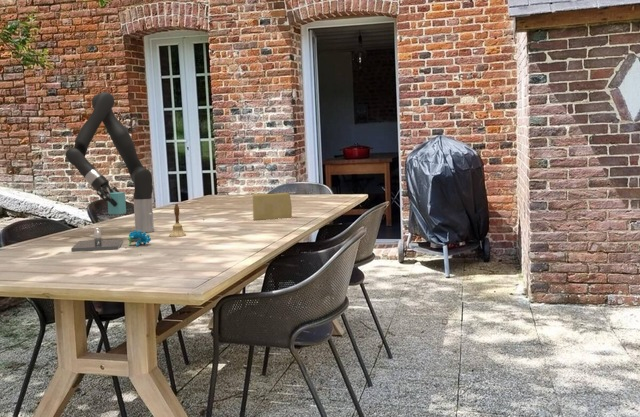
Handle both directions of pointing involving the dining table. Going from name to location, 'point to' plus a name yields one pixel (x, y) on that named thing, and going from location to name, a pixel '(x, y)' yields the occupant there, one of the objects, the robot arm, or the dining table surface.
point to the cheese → (271, 206)
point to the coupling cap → (121, 203)
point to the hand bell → (177, 225)
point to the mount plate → (98, 247)
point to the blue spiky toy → (138, 237)
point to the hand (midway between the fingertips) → (119, 204)
